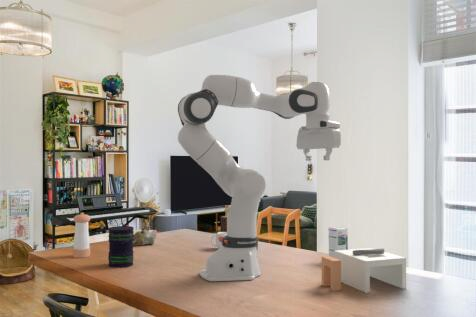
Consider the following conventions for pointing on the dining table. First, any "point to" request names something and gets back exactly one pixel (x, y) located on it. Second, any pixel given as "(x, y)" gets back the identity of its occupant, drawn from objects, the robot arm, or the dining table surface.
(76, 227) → the salt shaker
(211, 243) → the mug
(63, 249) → the dining table surface
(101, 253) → the dining table surface
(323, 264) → the notched wooden block
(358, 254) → the shelf
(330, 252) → the syrup box
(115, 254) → the storage jar
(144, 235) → the ceramic sculpture
